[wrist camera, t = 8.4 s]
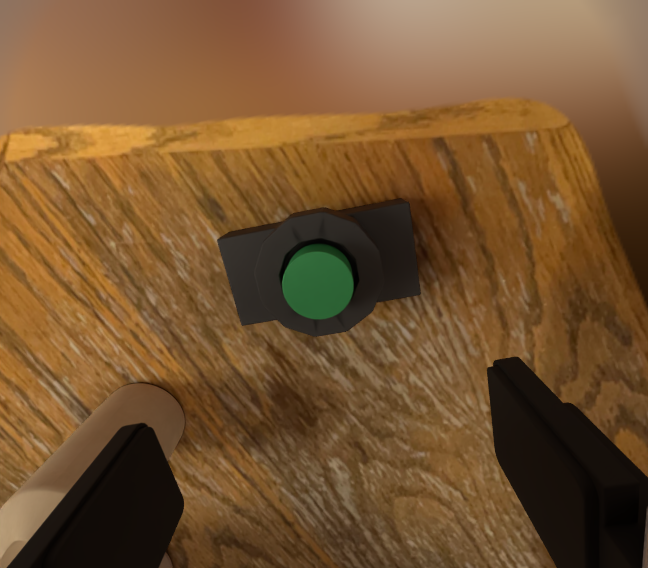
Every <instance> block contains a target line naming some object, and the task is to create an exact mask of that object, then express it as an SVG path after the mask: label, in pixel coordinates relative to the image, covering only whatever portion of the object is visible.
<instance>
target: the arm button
mask: <svg viewBox="0 0 648 568" xmlns="http://www.w3.org/2000/svg"><path fill="white" fill-rule="evenodd" d="M282 289H283V294H284V297H285V299H286V301H287V303H288V304H289V305H290V307H291V308H292V309H293V310H294V311H296V312H297V313H298V314H300V315H302V316H304V317H307V318H311V319H326V318H330V317H333V316H335V315H337V314H338V313H340V312H341V311H342V310H344V309H345V307H346V306H347V305H348V304H349V302H350V300H351V298H352V295H353V290H354V281H353V275H352V269H351V265H350V263H349V261H348V259H347V258H346V256H345V255H344V254H343V253H342V252H341V251H340V250H338V249H337V248H335V247H333V246H331V245H327V244H311V245H308V246H305V247H303V248H301V249H300V250H299V251H297V252H296V253H295V254H294V256H293V257H292V258H291V260H290V262H289V264H288V266H287V268H286V271H285V273H284V276H283V281H282Z"/></svg>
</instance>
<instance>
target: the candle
mask: <svg viewBox="0 0 648 568" xmlns="http://www.w3.org/2000/svg"><path fill="white" fill-rule="evenodd" d="M137 423H145V424H147V425H148V427H152V428H153V429H154V431H155V433H156V436H157V438H158V440H159V443H160V445H161V447H162V450H163V452H164V454H165V457H166V459H167V461H168V460H169V458H170V456H171V455H172V453H173V451H174V449H175V447H176V445H177V444H178V442H179V440H180V438H181V436H182V433H183V430H184V426H185V418H184V413H183V411H182V408H181V406H180V405H179V403H178V402H177V401H176V399H175V398H174V397H173V396H171V395H170V394H169V393H168V392H166V391H164V390H163V389H161V388H159V387H156V386H153V385H149V384H143V383H135V384H129V385H126V386H123V387H121V388H119V389H118V390H116V391H115V392H113V393H112V394H111V395H110V396H109V397H108V398H107V399H106V400H105V401H104V402H103V403H102V404H101V405H100V406H99V407H98V408H97V409H96V410H95V411H94V412H93V413H92V414H91V415H90V416H89V417H88V418H87V419H86V420H85V421H84V422H83V423H82V424H81V425H80V427H79V428H78V429H77V430H76V431H75V432H74V433H73V434H72V435H71V436H70V437H69V438H68V439H67V440H66V441H65V442H64V443H63V444H62V445H61V446H60V447H59V448H58V449H57V450H56V451H55V452H54V453H53V454H52V455H51V456H50V457H49V458H48V459H47V461H46V462H45V463H44V464H43V465H42V466H41V467H40V468H39V469H38V470H37V471H36V472H35V473H34V474H33V475H32V476H31V477H30V478H29V479H28V480H27V481H26V482H25V483H24V484H23V485H22V486H21V487H20V488H19V489H18V490H17V491H16V492H15V494H14V495H13V496H12V497H11V498H10V499H9V500H8V501H7V502H6V503H5V504H4V505H3V507H2V508H1V510H0V568H7V567H8V565H9V564H10V563H11V562H12V560H13V559H14V558H15V557H16V555H17V554H18V553H19V552H20V551H21V549H22V548H23V547H24V546H25V544H26V543H27V542H28V541H29V539H30V538H31V537H32V536H33V535H34V533H35V532H36V531H37V530H38V528H39V527H40V526H41V525H42V523H43V522H44V521H45V520H46V518H47V517H48V516H49V515H50V514H51V512H52V511H53V510H54V509H55V507H56V506H57V505H58V504H59V502H60V501H61V500H62V499H63V498H64V496H65V495H66V494H67V493H68V491H69V490H70V489H71V488H72V486H73V485H74V484H75V483H76V482H77V480H78V479H79V478H80V477H81V475H82V474H83V473H84V472H85V470H86V469H87V468H88V467H89V466H90V464H91V463H92V462H93V461H94V459H95V458H96V457H97V456H98V454H99V453H100V452H101V451H102V450H103V448H104V447H105V446H106V445H107V443H108V442H109V441H110V440H111V438H112V437H113V436H114V435H115V433H116V432H117V431H118V430H119V429H120V428H121V427H122V426H126V425H131V424H137Z"/></svg>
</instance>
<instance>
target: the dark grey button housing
mask: <svg viewBox="0 0 648 568" xmlns="http://www.w3.org/2000/svg"><path fill="white" fill-rule="evenodd" d="M217 242H218V245H219V249H220V252H221V255H222V259H223V262H224V266H225V269H226V273H227V276H228V280H229V283H230V287H231V290H232V294H233V297H234V301H235V304H236V307H237V311H238V314H239V318H240V321H241V325H242V326H244V325H249V324H255V323H261V322H267V321H272V320H278V321H279V322H280V323H281V324H282V325H283V326H285V327H286V328H289V329H293V330H296V331H299V332H302V333H305V334H308V335H311V336H316V337H317V336H323V335H329V334H335V333H341V332H346V331H348V330H349V329H351V328H352V327H353V326H355V325H356V324H357V323H359V322H360V321H361V320H362V319H364V318H365V317H366V316H368V315H369V314H370V313H371V312H372V311H373V309H374V307H375V304H376V302H382V301H388V300H393V299H399V298H405V297H411V296H416V295H420V294H421V292H420V284H419V276H418V268H417V260H416V252H415V244H414V236H413V228H412V220H411V212H410V204H409V202H407V201H405V200H403V199H401V198H400V199H395V200H390V201H384V202H379V203H374V204H369V205H364V206H359V207H354V208H349V209H344V210H339V211H334V210H331V209H328V208H324V207H323V208H318V209H313V210H307V211H302V212H297V213H293V214H292V215H290V216H289V217H288V218H287V219H286V220H285V221H283V222H278V223H273V224H267V225H262V226H257V227H252V228H247V229H242V230H237V231H232V232H228V233H227V234H225V235H224V236H222V237H220V238H219V239H217ZM311 244H327V245H331V246H333V247H335V248H337V249H338V250H340V251H341V252H342V253H343V254H344V255H345V256H346V258H347V259H348V261H349V263H350V265H351V269H352V275H353V281H354V290H353V295H352V298H351V300H350V302H349V304H348V305H347V306H346V307H345V309H344V310H342V311H341V312H340V313H338V314H337V315H335V316H333V317H330V318H326V319H311V318H307V317H304V316H302V315H300V314H298V313H297V312H296V311H294V310H293V309H292V308H291V307H290V305H289V304H288V303H287V301H286V299H285V297H284V294H283V289H282V281H283V276H284V273H285V271H286V268H287V266H288V264H289V262H290V260H291V258H292V257H293V256H294V254H295V253H296V252H297V251H299V250H300V249H301V248H303V247H305V246H308V245H311Z"/></svg>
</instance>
